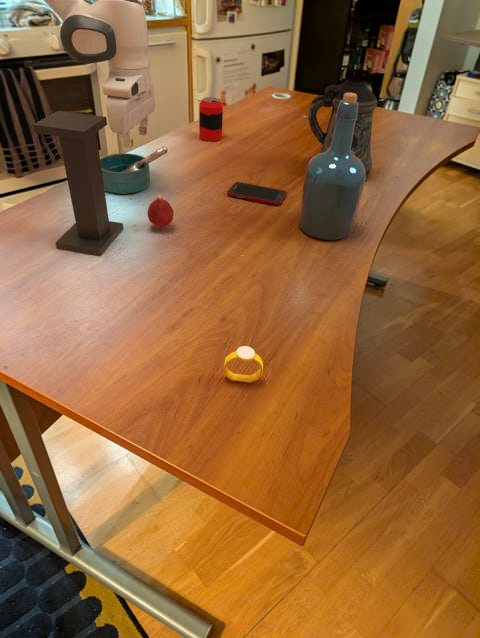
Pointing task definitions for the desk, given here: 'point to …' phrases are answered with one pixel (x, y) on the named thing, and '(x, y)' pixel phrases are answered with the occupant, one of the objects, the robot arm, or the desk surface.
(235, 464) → the desk surface
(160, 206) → the onion
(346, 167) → the wine bottle
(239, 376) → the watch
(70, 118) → the brown pedestal stand
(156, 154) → the grey scoop
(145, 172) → the bowl
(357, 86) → the beer stein
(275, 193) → the cell phone
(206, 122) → the soda can
